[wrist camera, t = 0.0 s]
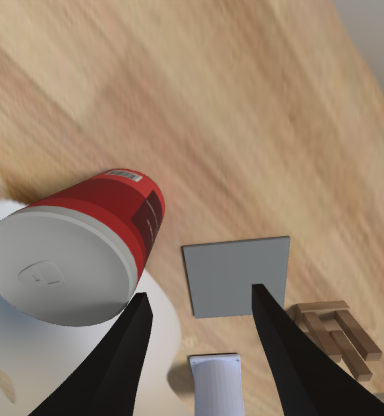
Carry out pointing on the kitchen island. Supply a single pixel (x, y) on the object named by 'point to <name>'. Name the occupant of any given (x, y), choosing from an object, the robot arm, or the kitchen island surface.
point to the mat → (235, 274)
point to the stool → (338, 335)
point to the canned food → (80, 249)
